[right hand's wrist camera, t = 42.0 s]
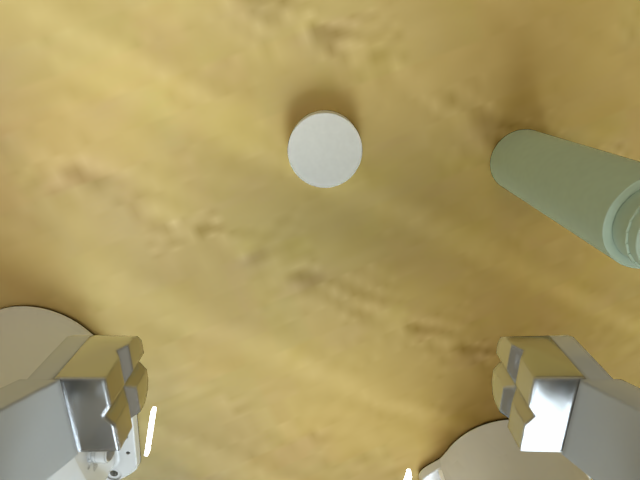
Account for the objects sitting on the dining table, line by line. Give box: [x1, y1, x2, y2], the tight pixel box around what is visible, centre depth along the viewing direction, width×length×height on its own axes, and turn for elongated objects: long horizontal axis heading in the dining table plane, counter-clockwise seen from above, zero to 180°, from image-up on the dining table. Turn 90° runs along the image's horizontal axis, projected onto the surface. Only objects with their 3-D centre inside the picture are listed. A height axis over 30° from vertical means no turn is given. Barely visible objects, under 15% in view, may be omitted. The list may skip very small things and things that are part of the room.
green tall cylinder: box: [490, 129, 640, 269], centre depth 30 cm, size 5×5×18 cm
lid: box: [288, 110, 362, 188], centre depth 37 cm, size 6×6×2 cm
